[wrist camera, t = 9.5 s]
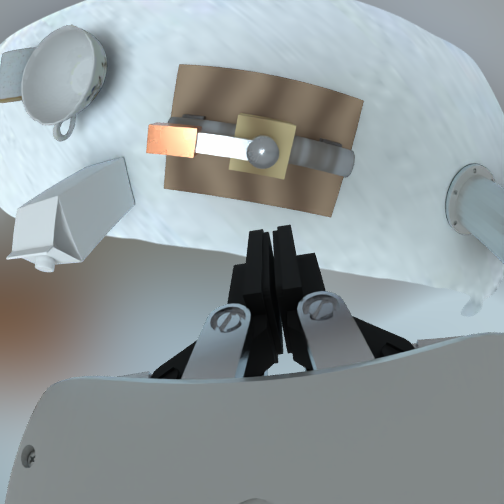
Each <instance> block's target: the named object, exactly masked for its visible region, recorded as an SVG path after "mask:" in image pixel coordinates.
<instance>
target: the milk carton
mask: <svg viewBox="0 0 504 504" xmlns="http://www.w3.org/2000/svg"><path fill="white" fill-rule="evenodd" d="M134 205H135V203H134V199H133V195H132V191H131V187H130V183H129V179H128V175H127V170H126V166H125V161H124V158H123V157H121V158H117V159H113V160H110V161H106V162H102V163H99V164H95V165H92V166H88V167H85V168H83V169H82V170H80V171H78V172H76V173H74V174H72V175H71V176H69V177H67V178H65V179H64V180H62V181H60V182H59V183H57V184H55V185H53V186H52V187H50V188H49V189H47V190H45V191H44V192H42V193H41V194H39V195H38V196H36V197H34V198H33V199H31V200H30V201H28V202H27V203H25V204H24V205H23V206H21V207H20V208H18V209H17V213H16V220H15V227H14V236H13V247H12V253H11V254H10V255H8V256H7V259H14V258H23V259H26V260H28V261H30V262H32V263H34V264H35V268H36V269H38V270H41V271H44V272H53V271H54V267H55V264H64V263H75V262H82V261H83V260H84V259H85V258H86V257H87V256H88V254H89V253H90V252H91V251H92V250H93V249H94V248H95V247H96V245H97V244H98V243H99V242H100V241H101V240H102V239H103V238H104V236H105V235H106V234H107V233H108V232H109V231H110V230H111V229H112V228H113V227H114V226H115V225H116V223H117V222H118V221H119V220H120V219H121V218H122V217H123V216H124V215H125V214H126V213H127V212H128V211H129V210H130V209H131V208H132V207H133V206H134Z"/></svg>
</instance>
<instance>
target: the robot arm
mask: <svg viewBox="0 0 504 504" xmlns="http://www.w3.org/2000/svg"><path fill="white" fill-rule="evenodd" d="M446 215H447V219H448V222H449V224H450V226H451V227H452V228H453V229H454V230H455V231H456V232H458V233H459V234H462V235H469V234H473V235H474V236H475V237H476V238H477V239H478V240H479V241H481V242H482V243H483V244H484V245H485V246H486V247H487V248H488V249H489V250H490V251H491V252H492V253H493V254H494V255H495V256H496V257H497V258H498V259H499V260H500V261H501V262H502V263H503V264H504V188H503V187H502V186H500V185H498V184H496V183H495V181H494V178H493V176H492V174H491V173H490V171H489V170H488V169H487V168H485V167H484V166H482V165H479V164H471V165H468V166H466V167H464V168H463V169H462V170H461V171H460V172H459V173H458V174H457V175H456V177H455V178H454V180H453V182H452V183H451V186H450V188H449V191H448V195H447V200H446ZM277 229H278V230H277V231H273V247H274V256H273V251H272V246H271V241H270V236H269V232H264V231H263V229H261V230H255V231H249V239H248V248H247V257H246V263H245V264H239V265H234V268H233V274H232V279H231V285H230V291H229V297H228V303H227V304H226V305H223V306H220V307H218V308H216V309H215V310H213V311H212V312H211V313H210V314H209V316H208V317H207V319H206V322H205V323H204V326H203V329H202V331H201V333H200V335H199V338H198V340H197V341H195V342H194V343H193V344H191V345H190V346H188V347H187V348H186V349H184V350H183V351H181V352H180V353H178V354H177V355H176V356H174V357H173V358H171V359H170V360H168V361H167V362H166V363H164V364H163V365H161V366H160V367H159V368H158V369H156V370H155V371H154V373H153V374H151V373H150V372H149V371H148V372H142V373H137V374H131V375H124V376H117V377H109V376H82V377H74V378H69V379H66V380H62V381H59V382H57V383H55V384H53V385H51V386H50V387H49V388H47V390H46V391H45V392H44V393H43V395H42V397H41V398H40V400H39V402H38V403H37V405H36V407H35V409H34V411H33V413H32V415H31V417H30V420H29V422H28V424H27V427H26V429H25V432H24V434H23V437H22V440H21V442H20V445H19V448H18V452H17V455H16V458H15V462H14V465H13V468H12V472H11V476H10V480H9V485H8V489H7V494H6V500H5V504H504V333H491V332H488V333H478V334H471V335H467V336H458V337H448V338H437V339H425V340H417V343H415V344H411V343H410V342H409V341H407V340H406V339H404V338H402V337H400V336H397V335H395V334H393V333H390V332H388V331H386V330H383V329H381V328H379V327H376V326H374V325H372V324H369V323H367V322H365V321H362V320H360V319H358V318H355V317H353V316H352V315H351V313H350V311H349V310H348V308H347V306H346V304H345V302H344V301H343V299H342V298H341V297H340V296H338V295H337V294H335V293H332V292H328V291H325V287H324V284H323V280H322V276H321V272H320V269H319V265H318V262H317V258H316V255H315V253H310V254H303V255H297V256H296V251H295V245H294V240H293V235H292V230H291V225H286V226H279V227H277ZM282 326H283V331H284V337H285V342H286V347H287V352H288V353H292V354H293V360H294V361H296V362H297V363H299V364H300V365H302V366H303V367H305V372H297V373H289V374H281V375H270V376H268V370H267V369H269V368H270V367H271V366H272V365H273V364H274V363H278V354H283V337H282Z"/></svg>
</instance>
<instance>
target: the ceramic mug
mask: <svg viewBox="0 0 504 504" xmlns="http://www.w3.org/2000/svg"><path fill="white" fill-rule="evenodd" d="M35 49H36V48H25V49H18V50H12V51H8V52H5V53H3V54H2V58H1V65H0V103H7V102H14V101H20V100H22V93H21V91H22V87H21V83H22V77H23V72H24V69H25V66H26V64H27V62H28V60H29V58H30V56H31V55H32V53H33V51H34V50H35Z"/></svg>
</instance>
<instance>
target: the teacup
mask: <svg viewBox="0 0 504 504" xmlns="http://www.w3.org/2000/svg"><path fill="white" fill-rule="evenodd" d="M106 72H107V58H106V54H105V51H104V49H103V47H102V45H101V43H100V42H99V41H98V40H97V39H96V38H95V37H94V36H93V35H92V34H90V33H89V32H87V31H85V30H83V29H81V28H78V27H76V26H74V25H66V26H63V27H61V28H59V29H57V30H55V31H53V32H52V33H50V34H49V35H48V36H47V37H45V38H44V39H43V40H42V41H41V42H40V43H39V45H38V46H37V48H36V49H35V50H34V51H33V53H32V55H31V56H30V58H29V60H28V62H27V64H26V66H25V69H24V72H23V77H22V83H21V87H22V91H21V93H22V101H23V104H24V107H25V110H26V112H27V113H28V114H29V116H30V117H31V118H32V119H33V120H34V121H38V122H39V123H40V124H42V125H54V124H55V125H54V128H53V136H54V138H55V139H56V140H57V141H64V140H66V139H67V138H68V137H69V136H70V135H71V134H72V131H73V129H74V127H75V120H76V114H78V113H79V112H80V111H82V110H83V109H84V108H85V107H87V106H88V105H89V104H90V103H91V102H92V100H93V99H94V98H95V97H96V95H97V94H98V92H99V91H100V89H101V87H102V85H103V83H104V80H105V77H106ZM69 118H71V121H70V126H69V130H68V132H67V134H66V135H62V134H61V132H60V127H61V124H62V123H63V121H65V120H68V119H69Z"/></svg>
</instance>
